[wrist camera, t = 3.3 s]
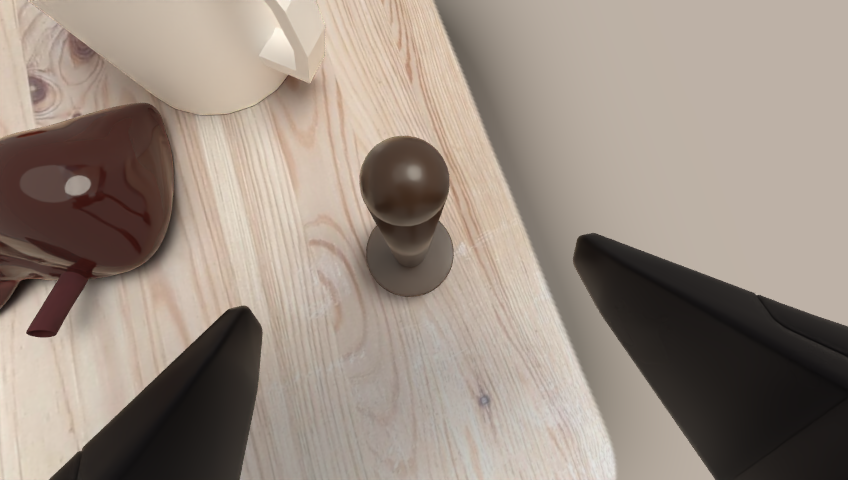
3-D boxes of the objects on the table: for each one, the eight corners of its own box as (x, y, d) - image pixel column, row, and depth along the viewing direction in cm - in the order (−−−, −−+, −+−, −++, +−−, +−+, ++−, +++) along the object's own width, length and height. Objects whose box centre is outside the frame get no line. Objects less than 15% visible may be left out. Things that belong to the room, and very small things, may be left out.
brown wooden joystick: (465, 260, 18) (602, 181, 5) (405, 313, 17) (384, 379, 4) (414, 203, 18) (418, -9, 5) (355, 252, 18) (198, 147, 5)
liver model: (222, 171, 21) (148, 311, 13) (68, 221, 22) (-75, 375, 15) (129, 69, 16) (-60, 203, 9) (-61, 140, 17) (-366, 310, 10)
